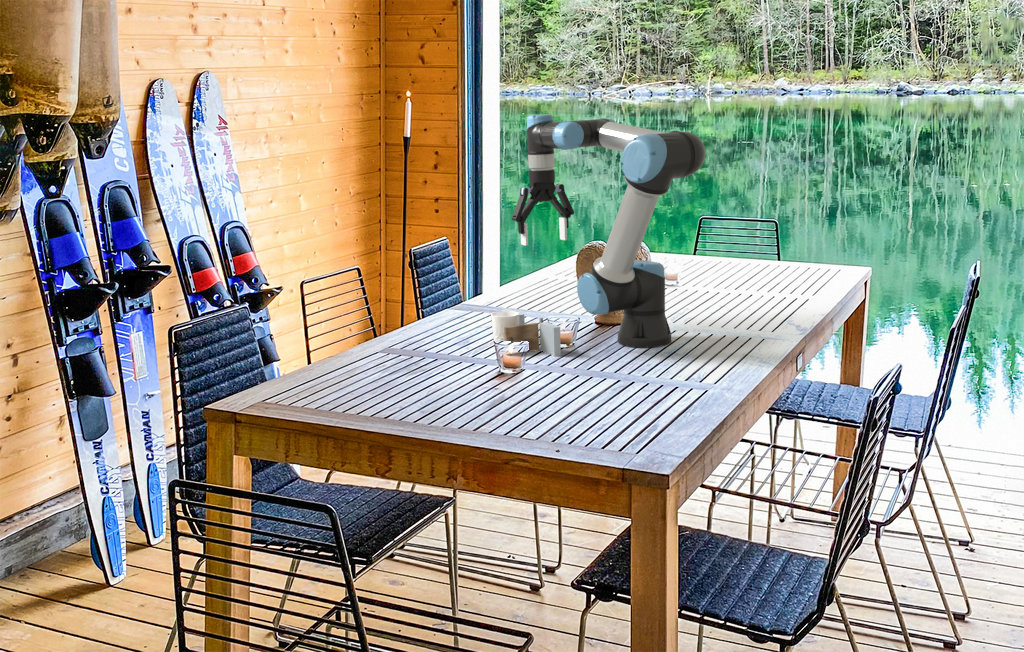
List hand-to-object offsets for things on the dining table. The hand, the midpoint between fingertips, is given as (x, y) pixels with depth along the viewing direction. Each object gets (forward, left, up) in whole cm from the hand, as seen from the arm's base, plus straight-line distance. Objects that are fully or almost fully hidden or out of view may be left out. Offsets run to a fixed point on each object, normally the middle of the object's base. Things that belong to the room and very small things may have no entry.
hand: (544, 242), depth 323 cm
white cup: (-9, +19, -27) cm, 34 cm away
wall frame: (-11, +11, -27) cm, 32 cm away
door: (-17, +18, -27) cm, 36 cm away
